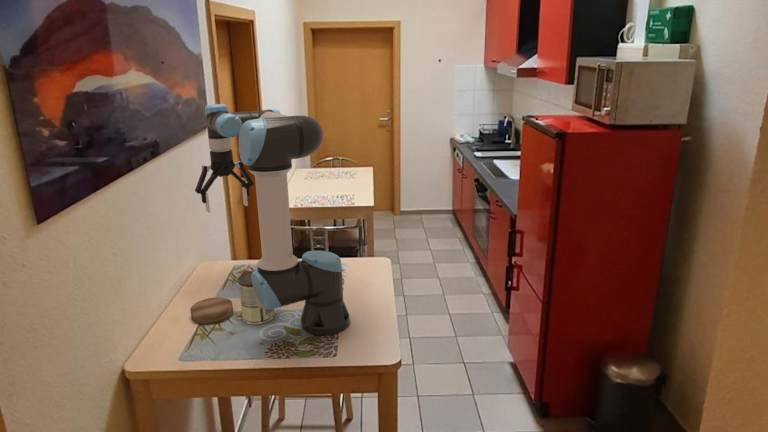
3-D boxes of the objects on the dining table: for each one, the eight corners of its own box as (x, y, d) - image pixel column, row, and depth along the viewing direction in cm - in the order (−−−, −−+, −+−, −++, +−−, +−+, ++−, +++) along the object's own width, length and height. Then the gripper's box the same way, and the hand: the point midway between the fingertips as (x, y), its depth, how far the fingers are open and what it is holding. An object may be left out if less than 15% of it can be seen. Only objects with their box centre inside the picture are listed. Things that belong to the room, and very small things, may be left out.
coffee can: (248, 309, 176) (244, 269, 172) (278, 310, 175) (275, 270, 171) (237, 324, 166) (232, 283, 162) (269, 325, 165) (265, 284, 161)
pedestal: (238, 317, 171) (237, 308, 170) (197, 328, 164) (195, 319, 163) (226, 302, 181) (225, 294, 180) (187, 312, 175) (186, 303, 174)
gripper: (252, 144, 194) (257, 200, 200) (181, 152, 181) (189, 211, 187) (259, 147, 187) (264, 205, 194) (186, 155, 175) (194, 216, 181)
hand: (227, 208), depth 191 cm, fingers open, 13 cm apart
